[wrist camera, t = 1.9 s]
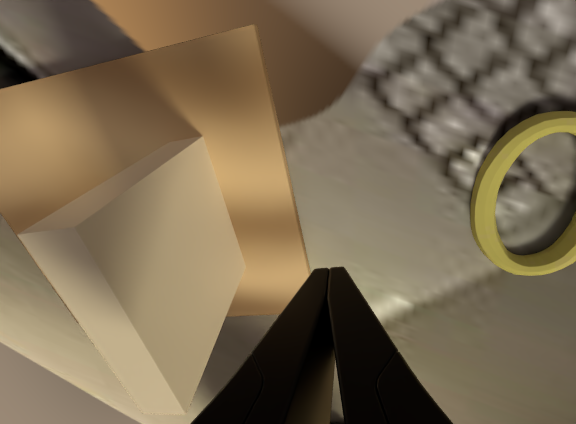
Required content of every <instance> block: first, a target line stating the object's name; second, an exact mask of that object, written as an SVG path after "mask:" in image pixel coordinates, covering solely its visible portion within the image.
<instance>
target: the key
mask: <svg viewBox="0 0 576 424" xmlns="http://www.w3.org/2000/svg"><path fill="white" fill-rule="evenodd" d="M556 132H569V133H571V134H573V135H576V112H572V111H553V112H547V113H542V114H536V115H534V116H532V117H530V118H528V119H526V120H524V121H522V122H520V123H519V124H517V125H516V126H515V127H513V128H512V129H510V130H509V131H508V132H507V133H506V134H505V135H504V136H503V137H502V138H501V139H499V140H498V141H497V143H496V144H495V145H494V147H493V148H492V150H491V151H490V152H489V154H488V155H487V157H486V159H485V160H484V162H483V164H482V166H481V167H480V170H479V172H478V175H477V177H476V180H475V184H474V188H473V192H472V198H471V207H470V220H471V229H472V233H473V237H474V239H475V241H476V243H477V245H478V247H479V248H480V250H481V251H482V252H483V254H484V255H485V256H486V257H487V258H489V259H490V260H491V261H492V262H493V263H494V264H495V265H497V266H498V267H500V268H502V269H503V270H505V271H507V272H510V273H513V274H517V275H527V276H529V275H543V274H548V273H552V272H555V271H558V270H560V269H563V268H565V267H566V266H568V265H570V264H572V263H574V262H575V261H576V212H575V214H574V216H573V218H572V220H571V222H570V224H569V225H568V227H567V228H566V230H565V231H564V233H563V234H562V235H561V236H560V237H559V238H558V239H557V240H556V241H555V242H554V244H553V245H551V246H550V247H548V248H547V249H545V250H543V251H541V252H538V253H535V254H531V255H523V256H522V255H516V254H513V253H511V252H509V251H508V250H507V249H506V248H505V246H504V245H503V243H502V241H501V239H500V236H499V234H498V231H497V227H496V219H495V207H496V199H497V194H498V190H499V187H500V184H501V182H502V179H503V177H504V175H505V174H506V172H507V171H508V169H509V168H510V166H511V165H512V163H513V162H514V161H515V159H516V158H517V157H518V156H519V154H520V153H521V152H522V151H523V150H524V149H525V148H526V147H527V146H528V145H530V144H531V143H533V142H534V141H536V140H537V139H539V138H541V137H543V136H546V135H548V134H552V133H556Z"/></svg>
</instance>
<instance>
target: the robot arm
mask: <svg viewBox="0 0 576 424" xmlns="http://www.w3.org/2000/svg"><path fill="white" fill-rule="evenodd" d="M335 360H336V367H337V374H338V381H339V388H340V395H341V402H342V409H343V416H344V423H345V424H453V423H452V422H451V420H450V419H449V418H448V417H447V416H446V414H445V413H444V412H443V411H442V410H441V408H440V407H439V406H438V405H437V403H436V402H435V401H434V400H433V398H432V397H431V396H430V395H429V393H428V392H427V391H426V390H425V388H424V387H423V386H422V384H421V383H420V382H419V380H418V379H417V377H416V376H415V374H414V373H413V372H412V370H411V369H410V367H409V366H408V364H407V363H406V361H405V360H404V358H403V357H402V355H401V354H400V352H398V349H397V348H396V346H395V345H394V343H393V342H392V340H391V338H390V337H389V335H388V334H387V332H386V331H385V329H384V328H383V326H382V325H381V323H380V321H379V320H378V318H377V317H376V315H375V314H374V312H373V311H372V309H371V308H370V306H369V305H368V303H367V301H366V300H365V298H364V297H363V295H362V294H361V292H360V291H359V289H358V288H357V286H356V284H355V283H354V281H353V280H352V278H351V277H350V275H349V274H348V272H347V271H346V269H345V268H344V267H332V268H330V269H328V268H318V269H314V270H313V272H312V273H311V274H310V276H309V277H308V278H307V280H306V281H305V282H304V283H303V285H302V286H301V287H300V289H299V290H298V291H297V293H296V294H295V295H294V297H293V298H292V299H291V301H290V302H289V303H288V305H287V306H286V307H285V309H284V310H283V311H282V313H281V314H280V315H279V317H278V318H277V319H276V320H275V322H274V323H273V324H272V326H271V327H270V328H269V330H268V331H267V332H266V334H265V335H264V336H263V338H262V339H261V340H260V342H259V343H258V344H257V346H256V347H255V348H254V350H253V351H252V355H251V354H250V355H249V356H248V357H247V359H246V360H245V361H244V363H243V364H242V365H241V366H240V368H239V369H238V370H237V371H236V373H235V374H234V375H233V376H232V378H231V379H230V380H229V381H228V383H227V384H226V385H225V386H224V387H223V388H222V390H221V391H220V392H219V393H218V394H217V395H216V396H215V397H214V399H213V400H212V401H211V402H210V403H209V404H208V405H207V406H206V407H205V408H204V410H203V411H202V412H201V413H200V414H199V415H198V416H197V417H196V418H195V419H194V420H193V421H192V423H191V424H330V416H331V404H332V391H333V379H334V367H335Z"/></svg>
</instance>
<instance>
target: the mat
mask: <svg viewBox="0 0 576 424" xmlns="http://www.w3.org/2000/svg"><path fill="white" fill-rule="evenodd" d="M201 136H203V138H204V141H205V144H206V147H207V150H208V153H209V156H210V159H211V162H212V165H213V168H214V171H215V174H216V177H217V180H218V183H219V186H220V189H221V192H222V195H223V198H224V201H225V205H226V208H227V211H228V214H229V217H230V220H231V223H232V226H233V229H234V232H235V235H236V238H237V241H238V244H239V247H240V250H241V253H242V256H243V259H244V262H245V265H246V268H245V270H244V273H243V275H242V278H241V280H240V283H239V285H238V288H237V290H236V293H235V295H234V298H233V300H232V302H231V305H230V307H229V310H228V312H227V315H226V317H228V316H249V315H271V314H281V313H282V311H283V310H284V309H285V307H286V306H287V305H288V303H289V302H290V301H291V299H292V298H293V297H294V295H295V294H296V293H297V291H298V290H299V289H300V287H301V286H302V285H303V283H304V282H305V281H306V280H307V278H308V277H309V276H310V274H311V272H310V267H309V263H308V258H307V254H306V249H305V244H304V240H303V235H302V230H301V226H300V221H299V216H298V212H297V207H296V203H295V198H294V193H293V189H292V184H291V179H290V175H289V170H288V165H287V161H286V156H285V152H284V147H283V142H282V138H281V133H280V128H279V124H278V119H277V114H276V110H275V105H274V101H273V96H272V91H271V87H270V82H269V78H268V73H267V68H266V64H265V59H264V54H263V50H262V45H261V40H260V36H259V31H258V26H257V25H255V24H252V25H248V26H244V27H240V28H237V29H233V30H229V31H225V32H221V33H217V34H213V35H209V36H205V37H202V38H198V39H194V40H190V41H186V42H182V43H178V44H174V45H170V46H166V47H163V48H159V49H155V50H151V51H147V52H143V53H139V54H135V55H131V56H128V57H124V58H120V59H116V60H112V61H108V62H104V63H100V64H96V65H93V66H89V67H85V68H81V69H77V70H73V71H69V72H65V73H61V74H58V75H54V76H50V77H46V78H42V79H38V80H34V81H30V82H27V83H23V84H19V85H15V86H11V87H7V88H3V89H0V213H1V214H2V216H3V217H4V219H5V220H6V221H7V223H8V224H9V226H10V227H11V229H12V230H13V231H14V233H15V234H16V236H17V237H18V235H17V234H19V233H21V232H22V231H24V230H26V229H27V228H29V227H30V226H32V225H34V224H35V223H37V222H39V221H40V220H42V219H44V218H45V217H47V216H49V215H50V214H52V213H54V212H55V211H57V210H59V209H60V208H62V207H63V206H65V205H67V204H68V203H70V202H72V201H73V200H75V199H77V198H78V197H80V196H82V195H83V194H85V193H87V192H88V191H90V190H91V189H93V188H95V187H96V186H98V185H100V184H101V183H103V182H105V181H106V180H108V179H110V178H111V177H113V176H115V175H116V174H118V173H120V172H121V171H123V170H124V169H126V168H128V167H129V166H131V165H133V164H134V163H136V162H138V161H139V160H141V159H143V158H144V157H146V156H148V155H149V154H151V153H153V152H154V151H156V150H157V149H159V148H161V147H162V146H164V145H166V144H167V143H169V142H173V141H179V140H184V139H190V138H195V137H201ZM18 239H19V240H20V238H19V237H18ZM20 241H21V240H20ZM21 243H22V244H23V242H22V241H21ZM23 246H24V247H25V245H24V244H23ZM25 248H26V247H25ZM26 250H27V248H26ZM27 251H28V250H27ZM28 253H29V254H30V252H29V251H28ZM30 256H31V257H32V255H31V254H30ZM32 258H33V257H32ZM33 260H34V258H33ZM34 261H35V260H34ZM35 263H36V264H37V262H36V261H35ZM37 266H38V267H39V265H38V264H37ZM39 268H40V267H39ZM40 270H41V268H40ZM41 271H42V270H41ZM42 273H43V274H44V272H43V271H42ZM44 276H45V277H46V275H45V274H44ZM46 278H47V277H46ZM47 280H48V278H47ZM48 281H49V280H48ZM49 283H50V284H51V282H50V281H49ZM51 286H52V287H53V285H52V284H51ZM53 288H54V287H53ZM54 290H55V288H54ZM55 291H56V290H55ZM56 293H57V294H58V292H57V291H56ZM58 295H59V294H58ZM59 297H60V295H59ZM60 298H61V297H60ZM61 300H62V298H61ZM62 301H63V300H62ZM63 303H64V304H65V302H64V301H63ZM65 305H66V304H65ZM66 307H67V305H66ZM67 308H68V307H67ZM68 310H69V308H68ZM69 311H70V310H69ZM70 313H71V314H72V312H71V311H70ZM72 315H73V314H72ZM73 317H74V315H73ZM74 318H75V317H74ZM75 320H76V318H75ZM76 321H77V320H76ZM77 323H79V322H78V321H77Z"/></svg>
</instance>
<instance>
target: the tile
mask: <svg viewBox="0 0 576 424" xmlns="http://www.w3.org/2000/svg"><path fill="white" fill-rule="evenodd" d="M17 235H18V237H19V238H20V240H21V241H22V242H23V244H24V245H25V247H26V248H27V250H28V251H29V252H30V254H31V255H32V257H33V258H34V260H35V261H36V262H37V264H38V265H39V267H40V268H41V270H42V271H43V272H44V274H45V275H46V277H47V278H48V280H49V281H50V282H51V284H52V285H53V287H54V288H55V290H56V291H57V292H58V294H59V295H60V297H61V298H62V300H63V301H64V302H65V304H66V305H67V307H68V308H69V310H70V311H71V312H72V314H73V315H74V317H75V318H76V320H77V321H78V322H79V324H80V325H81V327H82V328H83V330H84V331H85V332H86V334H87V335H88V337H89V338H90V340H91V341H92V342H93V344H94V345H95V347H96V348H97V350H98V351H99V352H100V354H101V355H102V357H103V358H104V360H105V361H106V362H107V364H108V365H109V367H110V368H111V370H112V371H113V372H114V374H115V375H116V377H117V378H118V380H119V381H120V382H121V384H122V385H123V387H124V388H125V390H126V391H127V392H128V394H129V395H130V397H131V398H132V400H133V401H134V402H135V404H136V405H137V407H138V408H139V410H140V411H141V412H142V414H172V415H186V414H187V412H188V409H189V407H190V404H191V402H192V399H193V397H194V394H195V392H196V389H197V387H198V384H199V382H200V379H201V377H202V374H203V372H204V370H205V367H206V365H207V362H208V360H209V357H210V355H211V352H212V350H213V347H214V345H215V342H216V340H217V337H218V335H219V332H220V330H221V327H222V325H223V322H224V320H225V317H226V315H227V312H228V310H229V307H230V305H231V302H232V300H233V298H234V295H235V293H236V290H237V288H238V285H239V283H240V280H241V278H242V275H243V273H244V270H245V268H246V265H245V262H244V259H243V256H242V253H241V250H240V247H239V244H238V241H237V238H236V235H235V232H234V229H233V226H232V223H231V220H230V217H229V214H228V211H227V208H226V205H225V201H224V198H223V195H222V192H221V189H220V186H219V183H218V180H217V177H216V174H215V171H214V168H213V165H212V162H211V159H210V156H209V153H208V150H207V147H206V144H205V141H204V138H203V136H201V137H195V138H190V139H184V140H179V141H173V142H169V143H167V144H166V145H164V146H162V147H161V148H159V149H157V150H156V151H154V152H153V153H151V154H149V155H148V156H146V157H144V158H143V159H141V160H139V161H138V162H136V163H134V164H133V165H131V166H129V167H128V168H126V169H124V170H123V171H121V172H120V173H118V174H116V175H115V176H113V177H111V178H110V179H108V180H106V181H105V182H103V183H101V184H100V185H98V186H96V187H95V188H93V189H91V190H90V191H88V192H87V193H85V194H83V195H82V196H80V197H78V198H77V199H75V200H73V201H72V202H70V203H68V204H67V205H65V206H63V207H62V208H60V209H59V210H57V211H55V212H54V213H52V214H50V215H49V216H47V217H45V218H44V219H42V220H40V221H39V222H37V223H35V224H34V225H32V226H30V227H29V228H27V229H26V230H24V231H22V232H21V233H19V234H17Z"/></svg>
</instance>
